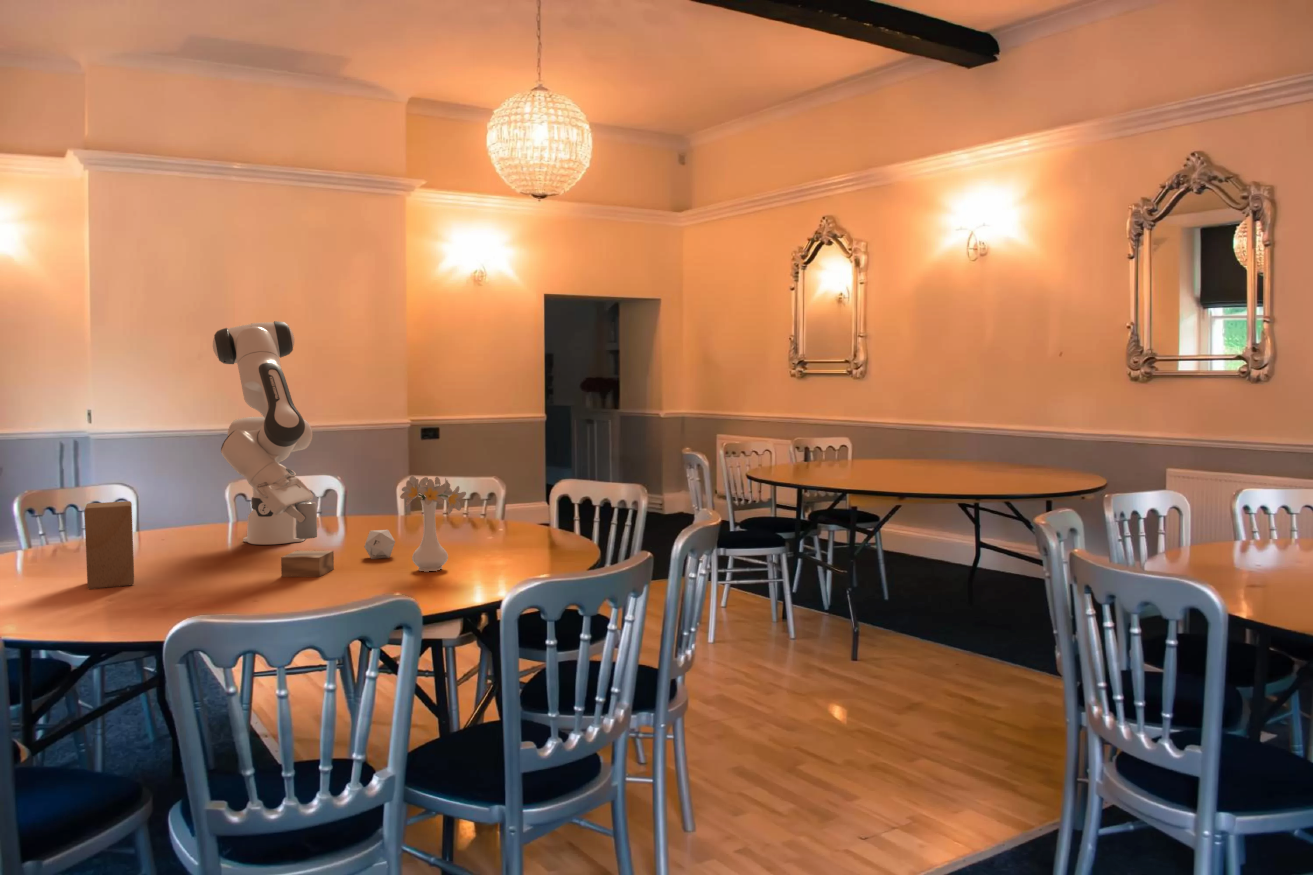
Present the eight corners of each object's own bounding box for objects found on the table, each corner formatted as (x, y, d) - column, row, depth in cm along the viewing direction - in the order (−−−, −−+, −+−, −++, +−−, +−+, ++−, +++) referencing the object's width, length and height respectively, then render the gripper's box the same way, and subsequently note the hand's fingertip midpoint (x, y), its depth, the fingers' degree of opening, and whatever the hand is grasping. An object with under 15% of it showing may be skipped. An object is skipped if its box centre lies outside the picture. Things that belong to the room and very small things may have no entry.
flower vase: (452, 576, 254) (450, 480, 252) (389, 572, 259) (387, 478, 258) (475, 567, 266) (474, 475, 265) (415, 563, 272) (414, 473, 270)
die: (358, 559, 281) (359, 536, 275) (374, 541, 287) (375, 517, 281) (383, 570, 279) (385, 547, 274) (399, 551, 286) (401, 528, 280)
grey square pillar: (300, 535, 261) (300, 501, 261) (320, 535, 261) (319, 501, 260) (292, 538, 256) (292, 504, 255) (312, 538, 256) (311, 504, 255)
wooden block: (87, 589, 239) (84, 508, 238) (89, 581, 248) (86, 503, 247) (133, 585, 244) (131, 505, 243) (134, 578, 253) (131, 500, 252)
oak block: (297, 568, 264) (296, 550, 264) (333, 569, 264) (333, 550, 264) (281, 576, 254) (281, 557, 254) (319, 576, 254) (319, 557, 254)
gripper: (262, 476, 247) (301, 515, 248) (295, 469, 268) (331, 505, 268) (245, 494, 248) (284, 533, 248) (279, 485, 268) (315, 521, 268)
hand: (308, 518), depth 258 cm, fingers closed on grey square pillar, 5 cm apart
